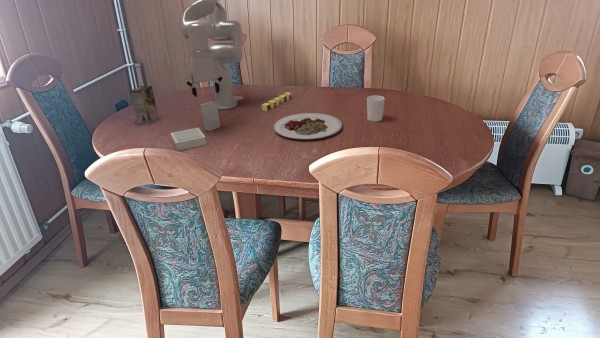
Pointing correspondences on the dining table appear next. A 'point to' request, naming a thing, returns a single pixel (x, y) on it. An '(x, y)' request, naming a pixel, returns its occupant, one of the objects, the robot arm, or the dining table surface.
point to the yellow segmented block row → (276, 101)
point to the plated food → (308, 126)
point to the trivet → (188, 139)
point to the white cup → (375, 108)
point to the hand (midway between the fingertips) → (206, 94)
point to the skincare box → (210, 116)
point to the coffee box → (144, 104)
